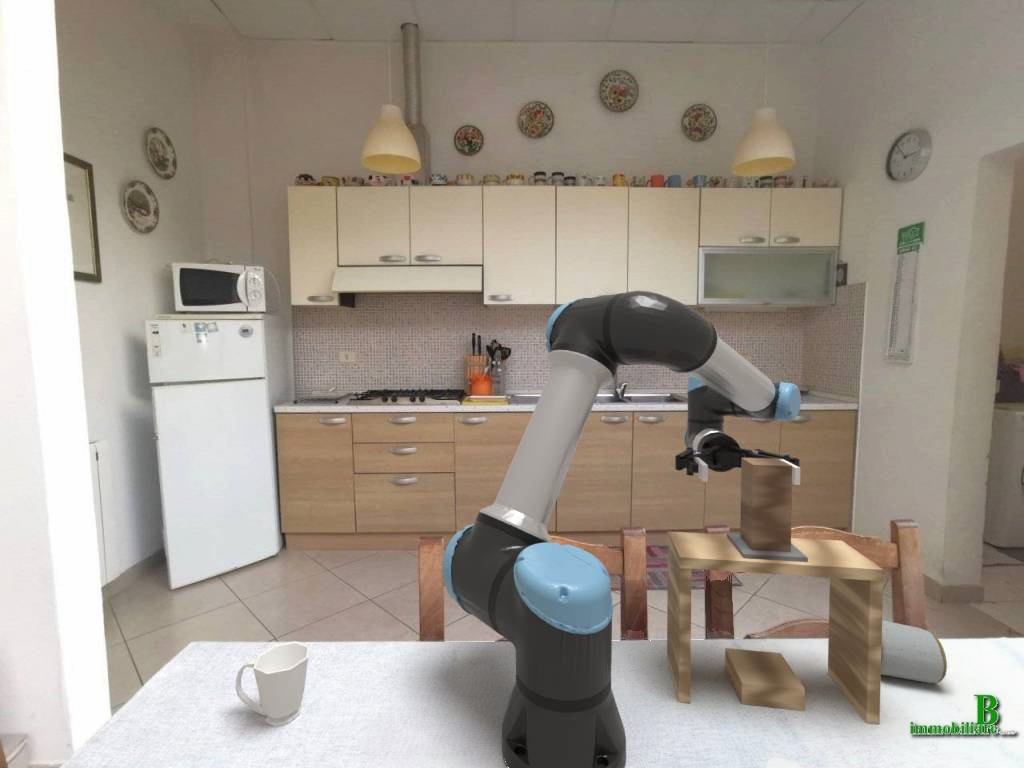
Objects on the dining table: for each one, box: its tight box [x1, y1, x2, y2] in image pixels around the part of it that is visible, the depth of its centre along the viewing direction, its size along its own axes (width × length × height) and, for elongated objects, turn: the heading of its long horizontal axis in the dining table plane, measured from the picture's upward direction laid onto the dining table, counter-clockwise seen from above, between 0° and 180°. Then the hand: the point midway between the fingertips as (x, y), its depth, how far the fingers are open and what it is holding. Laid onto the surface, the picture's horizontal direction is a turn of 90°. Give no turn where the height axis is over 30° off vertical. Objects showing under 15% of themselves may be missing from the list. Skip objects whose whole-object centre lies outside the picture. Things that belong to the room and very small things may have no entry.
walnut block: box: [739, 458, 793, 552], centre depth 66 cm, size 5×5×12 cm
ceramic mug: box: [881, 619, 948, 684], centre depth 71 cm, size 11×8×8 cm
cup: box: [234, 640, 311, 728], centre depth 62 cm, size 7×10×8 cm
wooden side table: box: [666, 531, 885, 725], centre depth 67 cm, size 25×10×21 cm, turn 80°
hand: (750, 475), depth 73 cm, fingers open, 13 cm apart
